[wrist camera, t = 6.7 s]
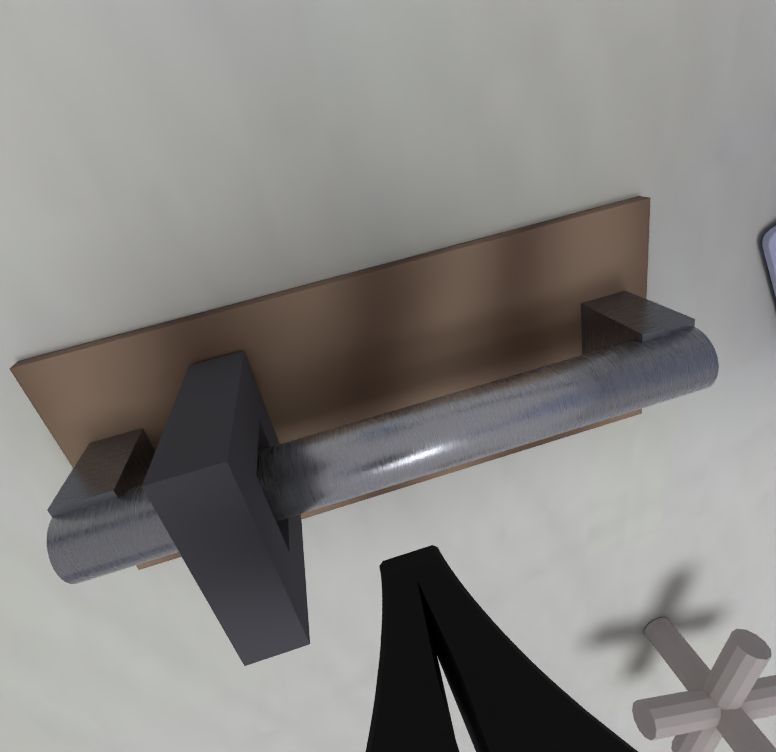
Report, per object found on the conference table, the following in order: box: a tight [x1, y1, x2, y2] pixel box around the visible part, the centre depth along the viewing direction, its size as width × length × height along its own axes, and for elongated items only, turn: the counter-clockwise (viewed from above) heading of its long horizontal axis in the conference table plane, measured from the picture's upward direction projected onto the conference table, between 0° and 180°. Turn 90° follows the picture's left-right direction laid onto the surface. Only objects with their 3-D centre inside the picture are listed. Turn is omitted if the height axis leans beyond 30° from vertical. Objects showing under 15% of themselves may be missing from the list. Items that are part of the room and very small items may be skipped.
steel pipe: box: [47, 291, 719, 584], centre depth 18 cm, size 22×3×5 cm, turn 102°
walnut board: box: [10, 196, 650, 570], centre depth 20 cm, size 24×10×1 cm, turn 102°
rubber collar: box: [142, 351, 310, 666], centre depth 16 cm, size 2×7×7 cm, turn 12°
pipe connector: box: [632, 618, 776, 752], centre depth 28 cm, size 10×10×10 cm
